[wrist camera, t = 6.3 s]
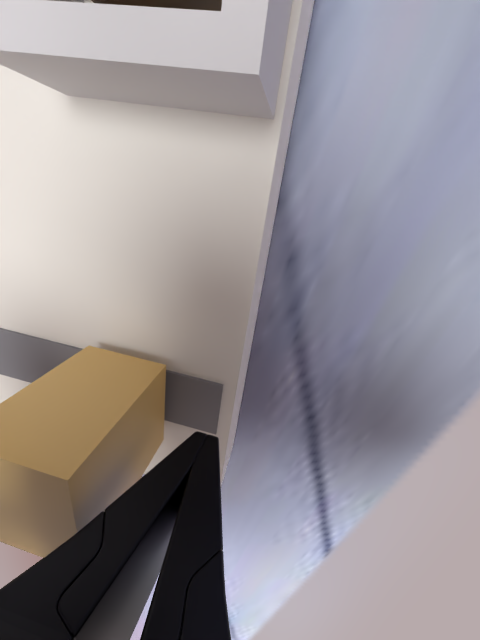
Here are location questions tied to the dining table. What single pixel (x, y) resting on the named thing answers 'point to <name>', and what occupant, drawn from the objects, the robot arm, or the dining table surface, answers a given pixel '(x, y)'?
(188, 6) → the walnut button
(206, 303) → the control panel
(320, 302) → the dining table surface
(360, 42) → the dining table surface
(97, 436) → the tan wooden brick
